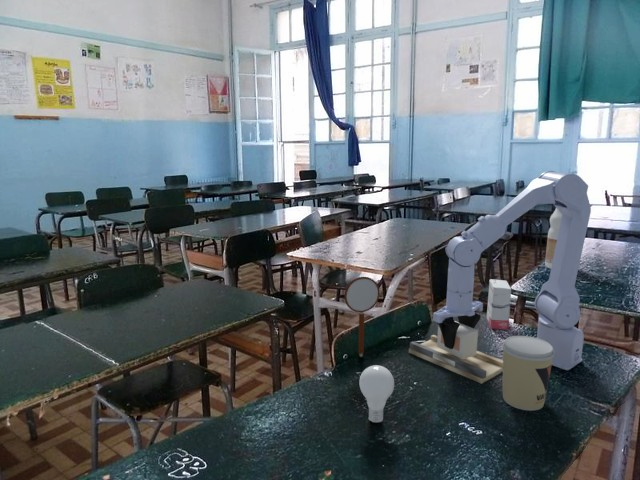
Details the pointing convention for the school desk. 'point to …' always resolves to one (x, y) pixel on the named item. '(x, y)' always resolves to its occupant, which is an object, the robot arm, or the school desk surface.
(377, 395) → the lightbulb
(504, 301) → the ink box
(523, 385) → the cream lidded canister
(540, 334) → the robot arm
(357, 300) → the magnifying glass
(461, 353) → the carton
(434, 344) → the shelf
